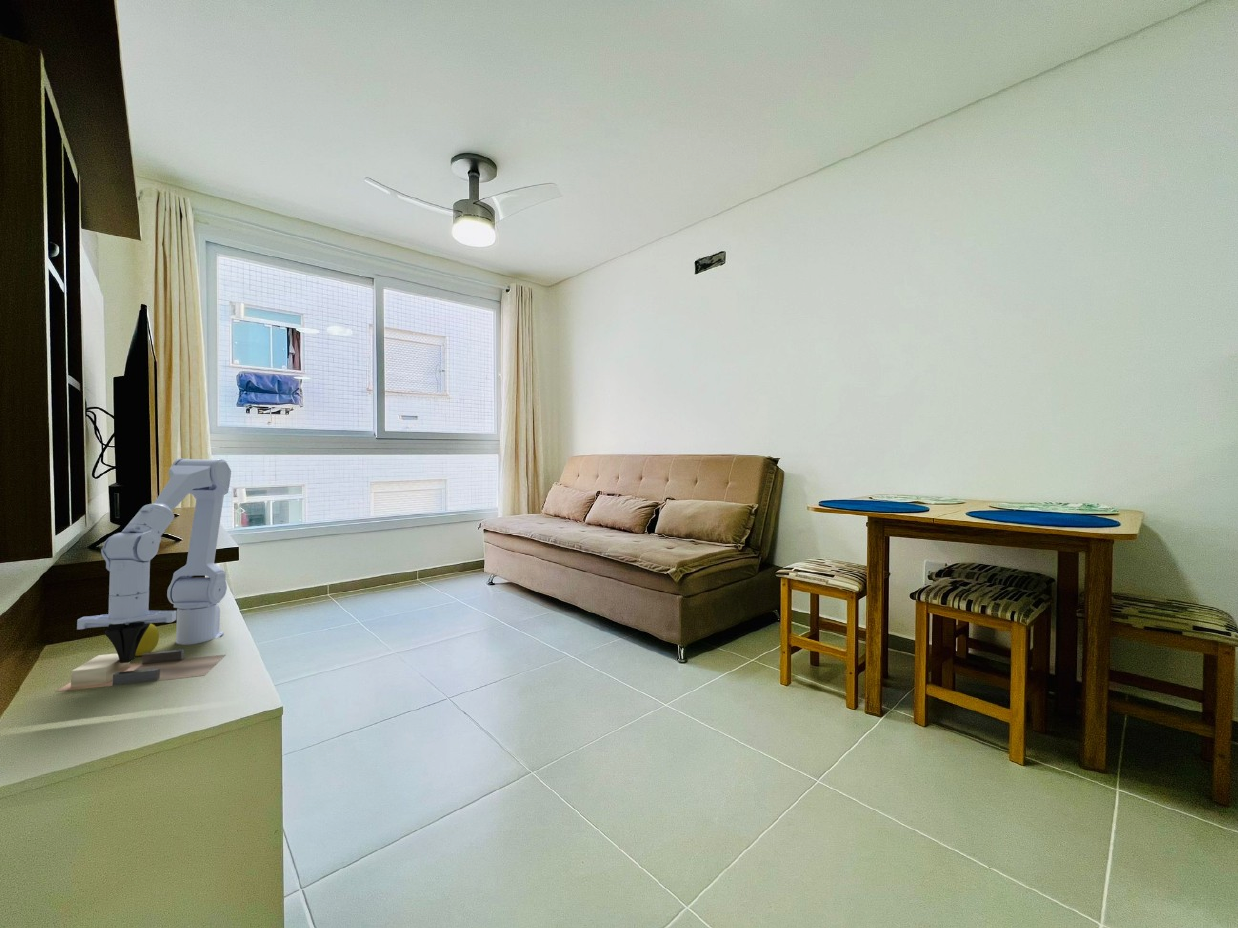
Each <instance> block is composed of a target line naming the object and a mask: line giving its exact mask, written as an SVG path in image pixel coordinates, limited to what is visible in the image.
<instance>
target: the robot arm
mask: <svg viewBox="0 0 1238 928" xmlns="http://www.w3.org/2000/svg"><path fill="white" fill-rule="evenodd" d="M231 477H232V469H231V468H230V465H229V464H228V463H227V461H226V460H224V459H221V458H218V459H203V458H201V459H199V458H197V459H195V458H192V459H191V458H183V457H182V458H181V457H180V458H177V459H176V460H174V462H173V463H172V465H171V466H170V467H169V469H168V478H169V480H168V481H167V483H166V484H165V486H164V487H163V489H162V490H161V491H160V493H159V495H158V496H157V497H156V499H155V500H154V502H153V503H149V504H145V505H143V506H142V507H141V508H140V509H139V510H138V512H137V513H136V514H135V516H134V517H132V519H131V520H130V521H129V522H128V524H127V525H126V526H125V527H124V529H122V531H121V532H116V533H114V534H112V535H111V536H109V537H108V538H106V540H105V541H104V543H103V547H102V548H101V549H100V552H101V556H102V558H103V559H104V561H105V569H106V570H107V571H108V572H109V586H108V589H109V590H108V593H109V594H108V612H107V613H108V614H107V613H106V614H100V615H90V616H82V617H80V618H78V619H77V620H76V621H77V622H76V630H84V629H85V630H86V629H88V628H89V629H91V628H102V627H107V629H106V630H105V631H104V633H105V636H106V637H107V639H109V641H110V642H111V644H112V645H113V646H114V649H115V651H116V654H118V657H119V660H120V663H128V662H130V663H131V662H132V661H133V660H135V657H136V656H135V653H136V650H137V647H138V645H139V643H140V640H141V638H142V637H143V635H144V633H145V631H146V630H147V628H148V627H149V625H150V623H151V624H154V623H155V624H156V623H157V624H158V623H169V624H170V623H173V622H175V621H176V628H175V629H176V633H175V634H176V635H175V644H176V645H182V646H183V645H196V644H200V643H201V644H202V643H204V642H205V643H206V642H208V641H211V640H214V639H216V638H217V639H218V638H221V636H223V635H224V634H225V632H224V631H220V626H221V623H220V620H221V608H220V606H219V605H218V604H219V603H221V601H222V600H223V599H224V597H225V596H226V593H227V589H228V587H227V585H228V584H227V581H226V580H227V579H226V578H227V577H226V575H227V572H226V571H225V570H224V569H223V568H221V567H220V566H218V565H217V564H215V560H216V553H217V552H216V551H217V545H218V539H219V532H220V525H221V524H220V523H221V517H222V511H223V502H224V496H225V495H227V494H229V489H230V483H231ZM189 494H190V495H192V496H193V497H194V498H195V501H196V502H195V506H194V513H193V519H192V526H191V530H190V531H191V532H190V537H189V538H190V539H189V546H188V553H187V559H186V564H185V565H184V566H182V567H180V568H179V569H177V570H176V571H174V572H173V575H172V579H171V581H170V584H169V586H168V587H167V590H166V591H167V593H166V596H167V600H168V602H169V603H170V604H172V605H173V608H174V609H176V610H150V609H149V605H150V604H149V603H150V580H151V579H150V577H151V575H150V573H151V572H150V571H151V570H150V569H151V560H153V558H154V557H155V556H156V555H157V554H158V553H159V552H158V551H159V549H160V543H161V541H162V539H163V538H162V537H161V536H163V534H164V533H165V531H166V530H167V529H168V527H169V526H170V525H171V523H172V522H173V520H174V519H175V514H174V512H173V511H174V510H175V509H176V507H178V506H179V504H180V503H181V502H182V501H183V500H184V499H185V498H186V497H187V496H188V495H189ZM194 576H207V577H194Z"/></svg>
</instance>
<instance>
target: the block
mask: <svg viewBox="0 0 1238 928" xmlns="http://www.w3.org/2000/svg"><path fill="white" fill-rule="evenodd" d="M130 664H131V661H130V662H128V663H120V660H119V657H118V654H117V653H109V654H108V653H107V654H98V655H96V656H95V657H93V658H91V659H90V660H88V661H86V662H84V663H83V664H81V665H79V666H77V667H76V668H74V669H72V670H71V671H70V673H71V674H70V682H71V687H78V686H88V685H97V684H106V683H108V682H109V681H110V680H112V679H113V674H115V673H116V672H123V671H125V670H126V669H128V668H129V667H130Z"/></svg>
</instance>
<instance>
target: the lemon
mask: <svg viewBox="0 0 1238 928" xmlns="http://www.w3.org/2000/svg"><path fill="white" fill-rule="evenodd" d="M159 635H160V634H159V630H158V627H157V626H156V625H155V624H154V623H150V625H149V627H148V628H147V630H146V631H145V633H144V635H143V637H142V638H141V640H140V643H139V645H138V647H137V650H136V653H135V657H142V655H143V654H144V653H149V652H153V651H154V650H155V649H156V647H157V646H158V644H159V640H160V636H159Z"/></svg>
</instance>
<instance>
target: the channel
mask: <svg viewBox="0 0 1238 928" xmlns="http://www.w3.org/2000/svg"><path fill="white" fill-rule="evenodd" d="M141 657H142V658H141V663H142V664H152V663H162V662H173V661H181V660H183V659H185V650H184V649H174V650H161V651H151V652H149V653H144V654H143V655H142V656H141ZM159 678H160V668H155V669H145V670H135V671H125V672H116V673H115V674H113V685H115V686H121V684H124V685H130V684H131V683H133V684H141V683H140V682H142V683H149V681H152V682H158V681H157V680H158V679H159ZM131 685H132V684H131Z"/></svg>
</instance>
